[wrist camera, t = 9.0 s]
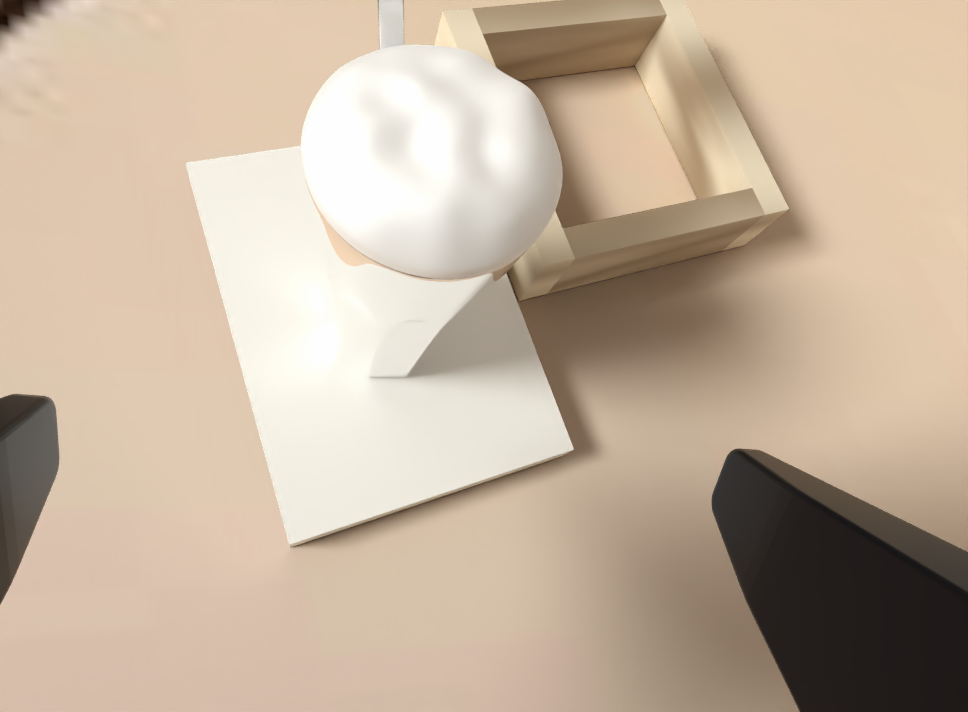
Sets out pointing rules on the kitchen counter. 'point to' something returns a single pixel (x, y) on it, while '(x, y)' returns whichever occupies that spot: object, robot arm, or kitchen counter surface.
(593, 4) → the holder
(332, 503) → the pad
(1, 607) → the kitchen counter surface
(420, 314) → the milkshake
